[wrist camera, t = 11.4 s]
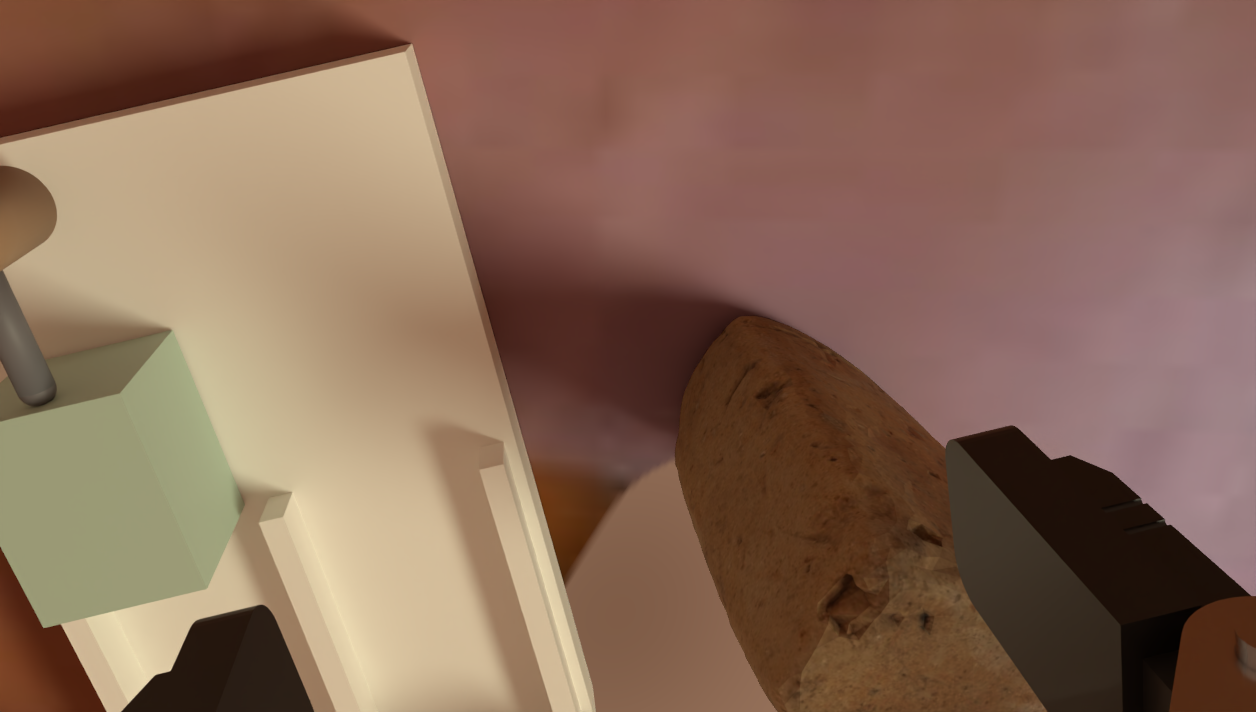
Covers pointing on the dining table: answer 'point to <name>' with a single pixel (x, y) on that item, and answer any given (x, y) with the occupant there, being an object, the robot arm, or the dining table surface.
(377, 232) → the shelf
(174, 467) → the pull block
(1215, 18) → the dining table surface
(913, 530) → the brown tall faceted piece
